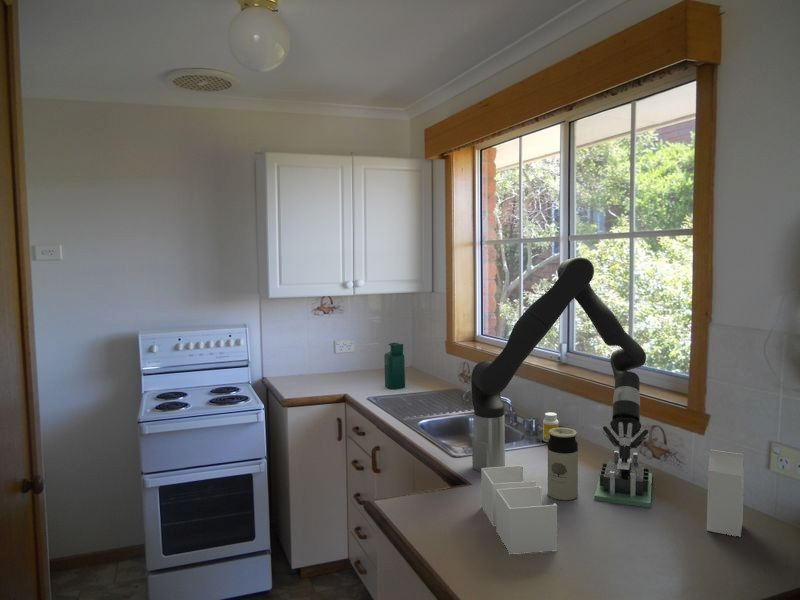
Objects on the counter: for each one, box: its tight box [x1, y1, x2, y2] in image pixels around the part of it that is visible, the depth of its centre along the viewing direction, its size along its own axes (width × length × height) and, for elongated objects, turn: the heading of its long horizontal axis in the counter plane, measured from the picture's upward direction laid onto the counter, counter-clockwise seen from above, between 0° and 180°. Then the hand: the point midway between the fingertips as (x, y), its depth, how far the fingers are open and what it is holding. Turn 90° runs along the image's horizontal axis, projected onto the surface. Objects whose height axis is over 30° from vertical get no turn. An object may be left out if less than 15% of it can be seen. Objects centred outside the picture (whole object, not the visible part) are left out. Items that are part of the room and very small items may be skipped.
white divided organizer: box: [480, 465, 558, 555], centre depth 149 cm, size 25×11×11 cm, turn 7°
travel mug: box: [547, 427, 579, 501], centre depth 167 cm, size 8×8×18 cm
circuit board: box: [593, 468, 653, 508], centre depth 171 cm, size 22×14×1 cm, turn 157°
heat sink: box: [599, 450, 650, 498], centre depth 171 cm, size 17×12×7 cm
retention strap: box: [617, 457, 633, 470], centre depth 171 cm, size 16×3×1 cm, turn 157°
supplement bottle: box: [542, 412, 560, 443], centre depth 213 cm, size 5×5×10 cm
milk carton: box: [706, 449, 745, 538], centre depth 146 cm, size 7×7×19 cm
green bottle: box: [383, 342, 406, 391], centre depth 296 cm, size 10×8×22 cm
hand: (624, 460), depth 170 cm, fingers closed
